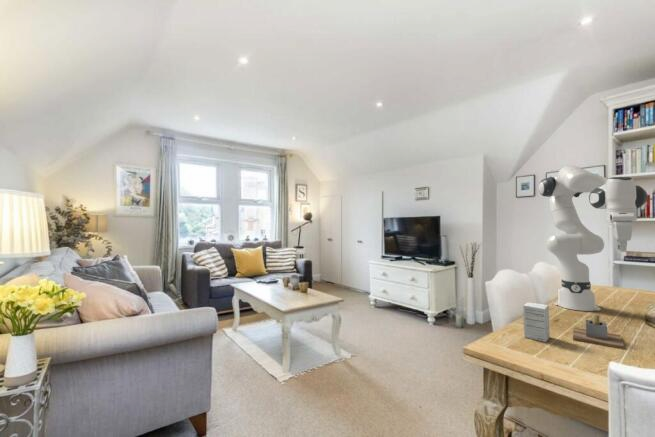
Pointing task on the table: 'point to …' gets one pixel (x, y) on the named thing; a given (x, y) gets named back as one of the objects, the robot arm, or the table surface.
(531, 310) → the supplement box
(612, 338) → the post board
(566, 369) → the table surface
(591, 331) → the collar
